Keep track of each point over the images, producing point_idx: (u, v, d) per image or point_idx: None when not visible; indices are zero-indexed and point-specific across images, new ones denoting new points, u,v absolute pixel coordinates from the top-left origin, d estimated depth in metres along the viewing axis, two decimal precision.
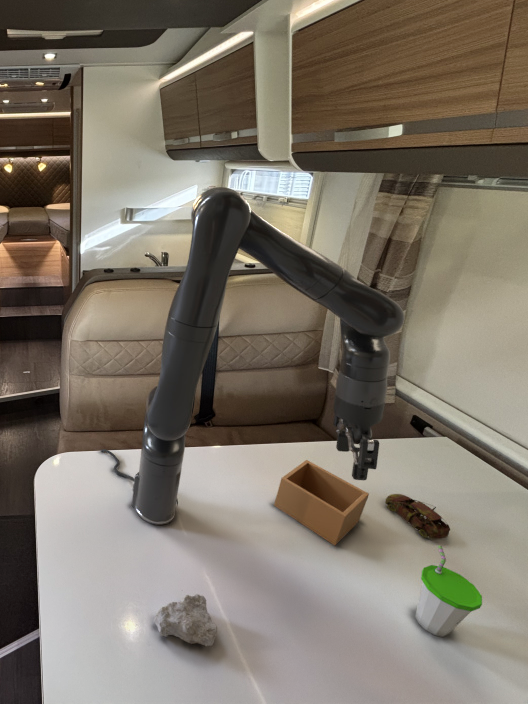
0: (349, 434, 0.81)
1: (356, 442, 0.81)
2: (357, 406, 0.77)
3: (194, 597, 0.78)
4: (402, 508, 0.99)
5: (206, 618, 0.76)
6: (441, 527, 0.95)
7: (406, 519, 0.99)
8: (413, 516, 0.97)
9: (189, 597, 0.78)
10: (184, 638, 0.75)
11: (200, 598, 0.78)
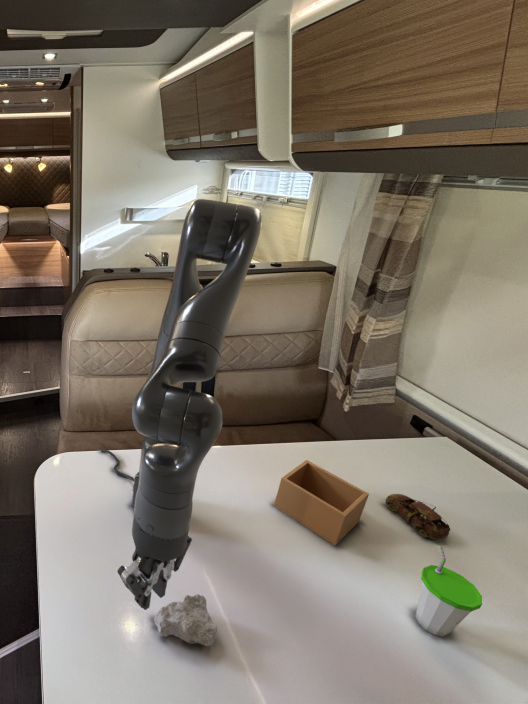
0: None
1: None
2: (136, 521, 0.59)
3: (194, 597, 0.78)
4: (402, 508, 0.99)
5: (206, 618, 0.76)
6: (441, 527, 0.95)
7: (406, 519, 0.99)
8: (413, 516, 0.97)
9: (189, 597, 0.78)
10: (184, 638, 0.75)
11: (200, 598, 0.78)
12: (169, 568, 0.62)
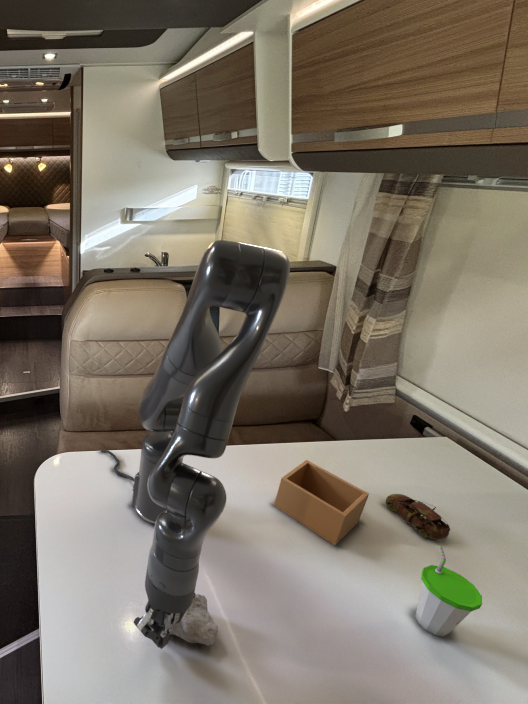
0: None
1: None
2: (149, 577, 0.67)
3: (195, 597, 0.78)
4: (402, 508, 0.99)
5: (207, 618, 0.76)
6: (441, 527, 0.95)
7: (406, 519, 0.99)
8: (413, 516, 0.97)
9: None
10: (185, 638, 0.75)
11: (201, 597, 0.78)
12: (175, 619, 0.70)
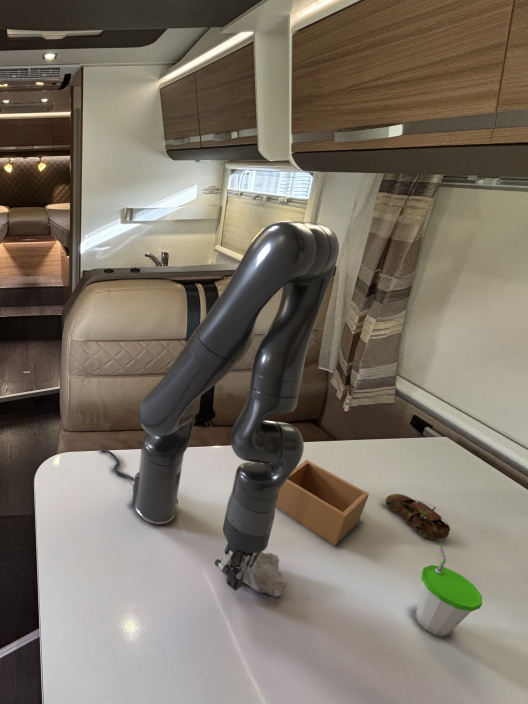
0: None
1: None
2: (229, 522, 0.77)
3: (267, 554, 0.86)
4: (402, 508, 0.99)
5: (277, 573, 0.84)
6: (441, 527, 0.95)
7: (406, 519, 0.99)
8: (413, 516, 0.97)
9: (262, 553, 0.86)
10: (253, 586, 0.84)
11: (273, 556, 0.86)
12: (250, 562, 0.79)
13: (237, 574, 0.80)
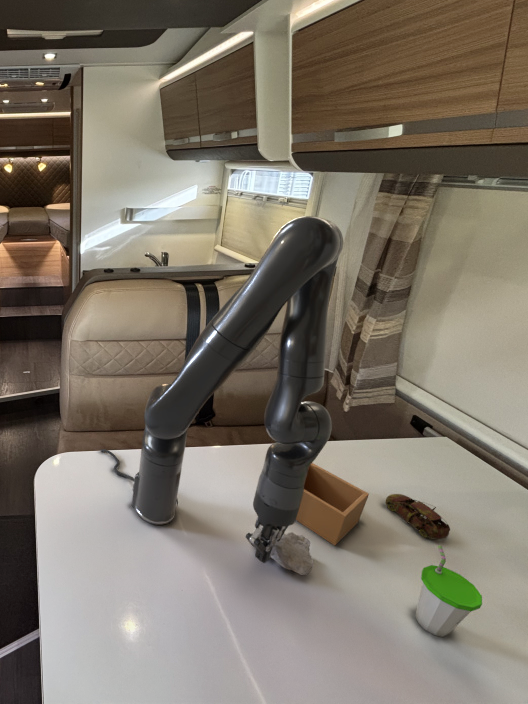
0: None
1: None
2: (260, 498, 0.82)
3: (299, 536, 0.90)
4: (402, 508, 0.99)
5: (305, 554, 0.87)
6: (441, 527, 0.95)
7: (406, 519, 0.99)
8: (413, 516, 0.97)
9: (293, 534, 0.90)
10: (280, 562, 0.89)
11: (304, 539, 0.90)
12: (278, 535, 0.85)
13: (266, 547, 0.85)
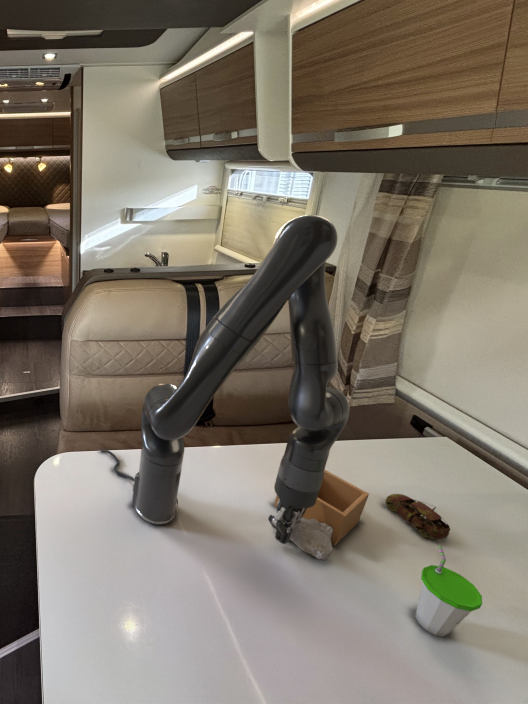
0: (277, 506, 0.90)
1: None
2: (282, 482, 0.86)
3: (321, 524, 0.93)
4: (402, 508, 0.99)
5: (325, 540, 0.90)
6: (441, 527, 0.95)
7: (406, 519, 0.99)
8: (413, 516, 0.97)
9: (316, 521, 0.93)
10: (299, 545, 0.93)
11: (327, 527, 0.93)
12: (298, 517, 0.89)
13: (287, 529, 0.89)
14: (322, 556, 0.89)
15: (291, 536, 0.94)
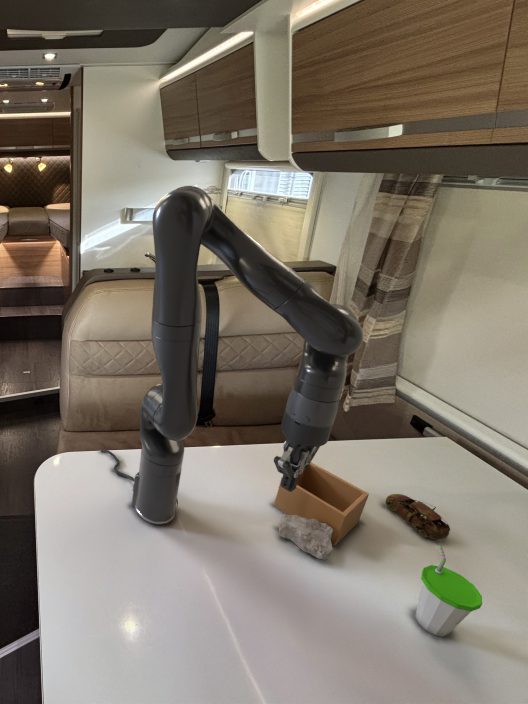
0: None
1: None
2: (290, 418, 0.76)
3: (321, 524, 0.93)
4: (402, 508, 0.99)
5: (326, 540, 0.90)
6: (441, 527, 0.95)
7: (406, 519, 0.99)
8: (413, 516, 0.97)
9: (316, 521, 0.93)
10: (299, 545, 0.93)
11: (327, 527, 0.93)
12: (307, 460, 0.79)
13: (294, 473, 0.80)
14: (322, 556, 0.89)
15: (291, 536, 0.94)
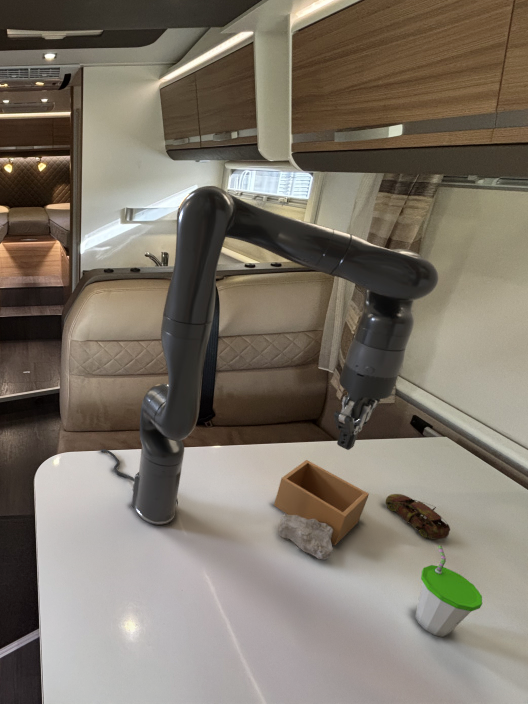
0: (343, 403, 0.77)
1: None
2: (351, 370, 0.73)
3: (321, 524, 0.93)
4: (402, 508, 0.99)
5: (326, 540, 0.90)
6: (441, 527, 0.95)
7: (406, 519, 0.99)
8: (413, 516, 0.97)
9: (316, 521, 0.93)
10: (299, 545, 0.93)
11: (327, 527, 0.93)
12: (368, 415, 0.76)
13: (354, 429, 0.77)
14: (322, 556, 0.89)
15: (291, 536, 0.94)
